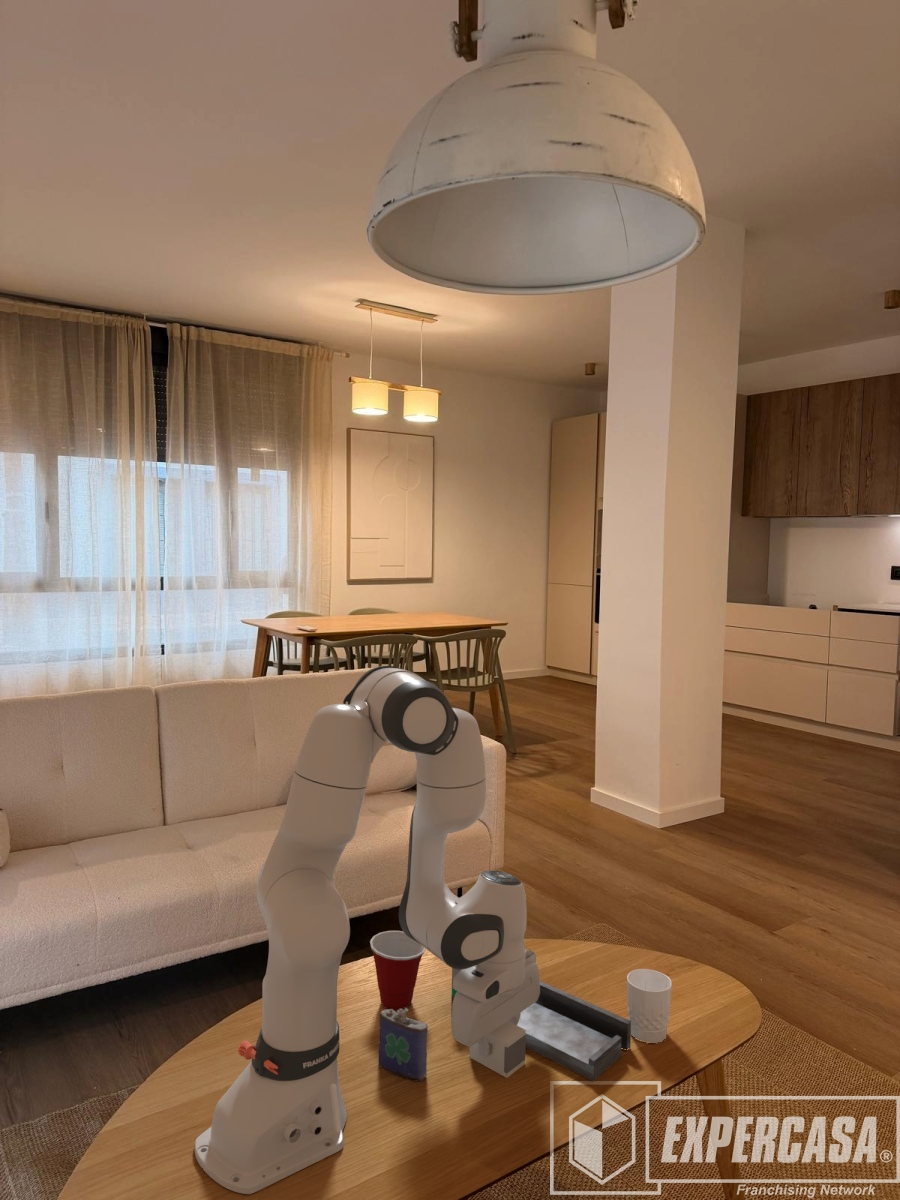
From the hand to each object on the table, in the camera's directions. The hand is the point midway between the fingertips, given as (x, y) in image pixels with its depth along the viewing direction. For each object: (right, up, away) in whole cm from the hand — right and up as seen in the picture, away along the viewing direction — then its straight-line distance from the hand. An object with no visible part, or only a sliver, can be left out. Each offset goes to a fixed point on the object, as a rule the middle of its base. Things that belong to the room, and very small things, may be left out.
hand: (497, 1045), depth 139 cm
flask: (-16, -3, -3) cm, 17 cm away
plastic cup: (-18, -1, +17) cm, 25 cm away
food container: (-5, -2, +18) cm, 18 cm away
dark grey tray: (+11, -2, +7) cm, 13 cm away
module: (0, -3, 0) cm, 3 cm away
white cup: (+28, -3, +9) cm, 29 cm away
